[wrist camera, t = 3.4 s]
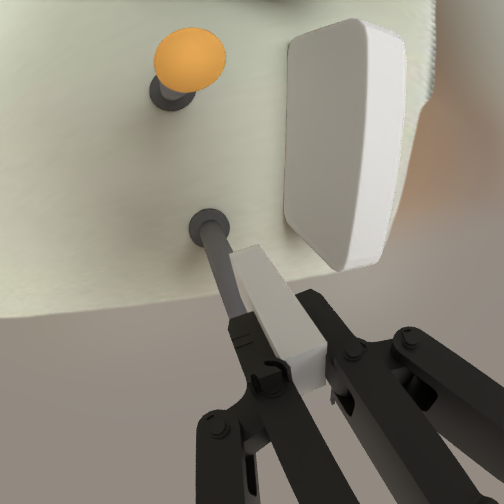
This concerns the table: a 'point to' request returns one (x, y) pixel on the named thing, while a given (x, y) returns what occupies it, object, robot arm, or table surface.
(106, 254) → the table surface
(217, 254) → the cable post
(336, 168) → the rounded white slab
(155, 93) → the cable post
